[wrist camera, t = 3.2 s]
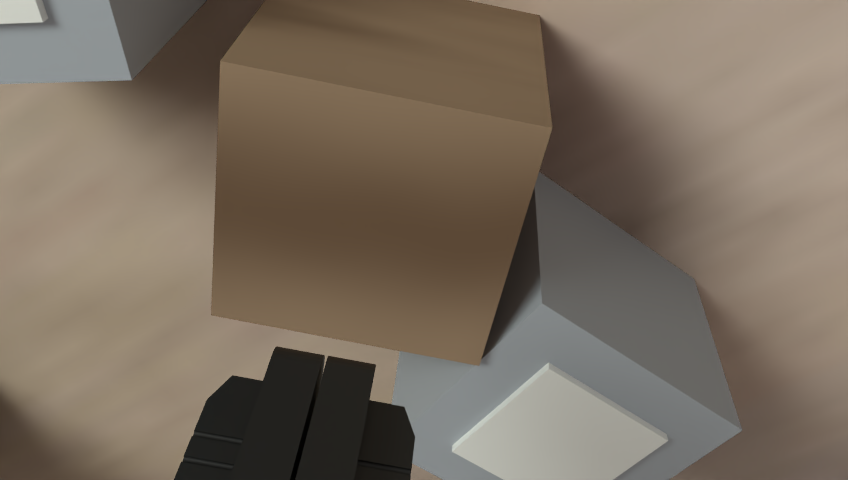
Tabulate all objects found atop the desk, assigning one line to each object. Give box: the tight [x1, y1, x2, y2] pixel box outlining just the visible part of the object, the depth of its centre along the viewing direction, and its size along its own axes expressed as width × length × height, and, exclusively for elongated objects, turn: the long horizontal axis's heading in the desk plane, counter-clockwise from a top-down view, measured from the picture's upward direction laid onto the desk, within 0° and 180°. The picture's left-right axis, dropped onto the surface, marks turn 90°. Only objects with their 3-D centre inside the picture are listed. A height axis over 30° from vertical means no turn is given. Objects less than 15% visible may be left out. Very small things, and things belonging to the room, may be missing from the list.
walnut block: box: [211, 0, 552, 366], centre depth 18 cm, size 6×6×6 cm
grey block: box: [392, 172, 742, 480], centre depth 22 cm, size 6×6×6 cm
